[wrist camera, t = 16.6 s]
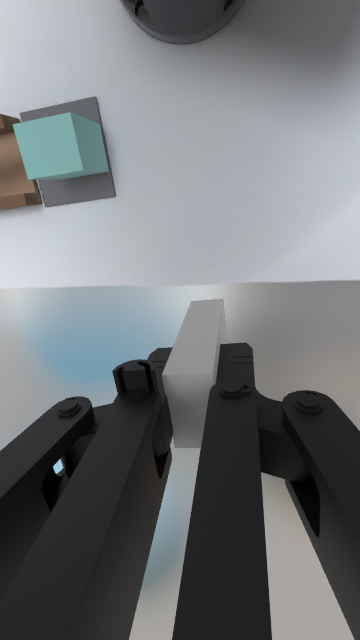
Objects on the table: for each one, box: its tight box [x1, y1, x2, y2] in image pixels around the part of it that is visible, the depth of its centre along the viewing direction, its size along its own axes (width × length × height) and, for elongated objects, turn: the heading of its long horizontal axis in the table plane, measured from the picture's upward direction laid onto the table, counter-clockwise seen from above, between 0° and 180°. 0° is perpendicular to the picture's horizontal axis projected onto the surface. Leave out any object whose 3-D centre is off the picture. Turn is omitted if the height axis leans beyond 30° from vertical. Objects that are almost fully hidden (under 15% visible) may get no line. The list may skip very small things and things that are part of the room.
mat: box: [20, 97, 116, 207], centre depth 42 cm, size 11×10×1 cm
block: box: [13, 112, 109, 180], centre depth 38 cm, size 5×6×8 cm
